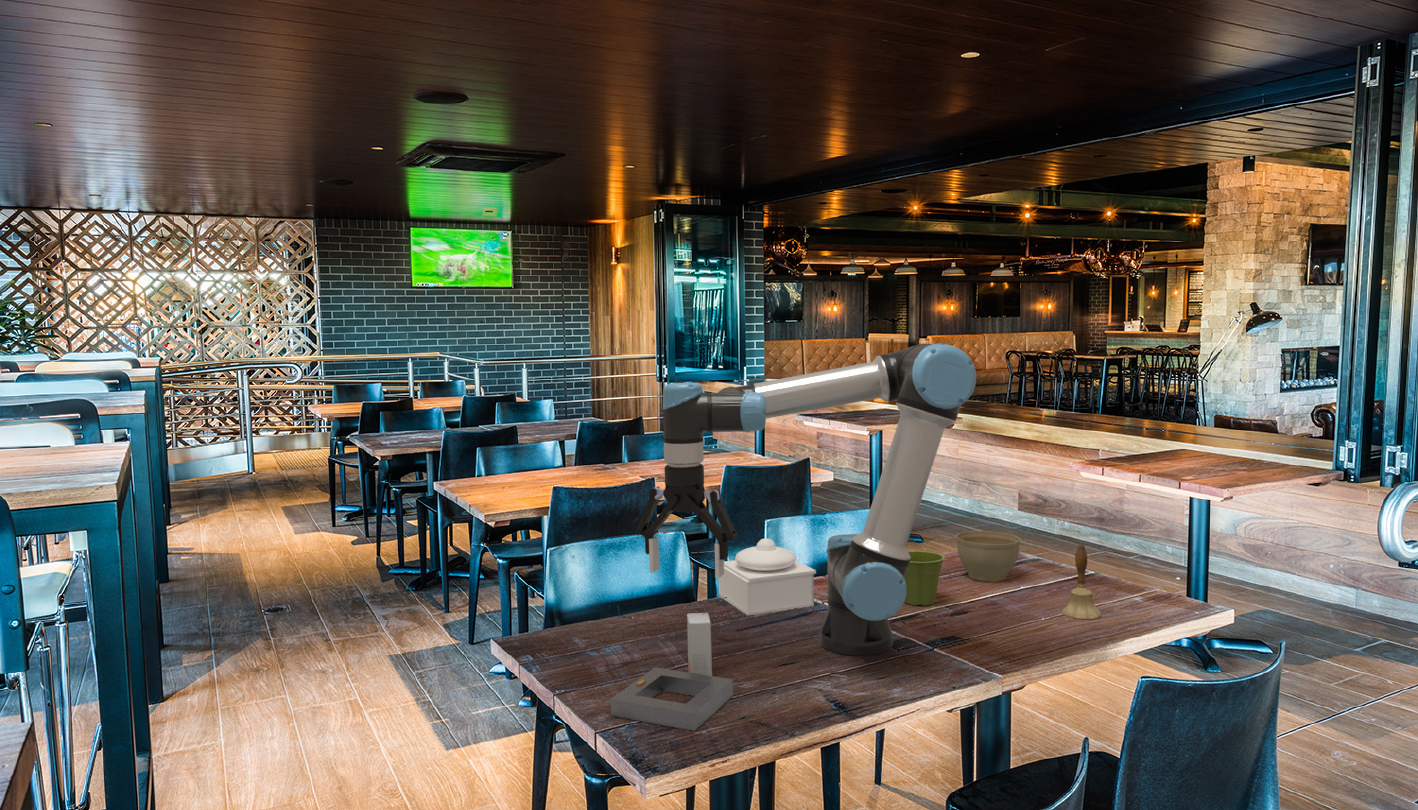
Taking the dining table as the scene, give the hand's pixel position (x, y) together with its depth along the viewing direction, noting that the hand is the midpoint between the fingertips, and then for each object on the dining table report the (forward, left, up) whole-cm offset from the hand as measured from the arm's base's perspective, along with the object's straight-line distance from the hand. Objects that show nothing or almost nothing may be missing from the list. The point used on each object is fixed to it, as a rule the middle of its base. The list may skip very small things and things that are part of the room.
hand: (686, 573), depth 175 cm
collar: (-4, +15, -20) cm, 25 cm away
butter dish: (+3, -50, -20) cm, 54 cm away
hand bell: (-67, -66, -20) cm, 96 cm away
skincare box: (-3, +2, -20) cm, 20 cm away
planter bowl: (-43, -90, -20) cm, 102 cm away
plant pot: (-31, -62, -20) cm, 72 cm away
